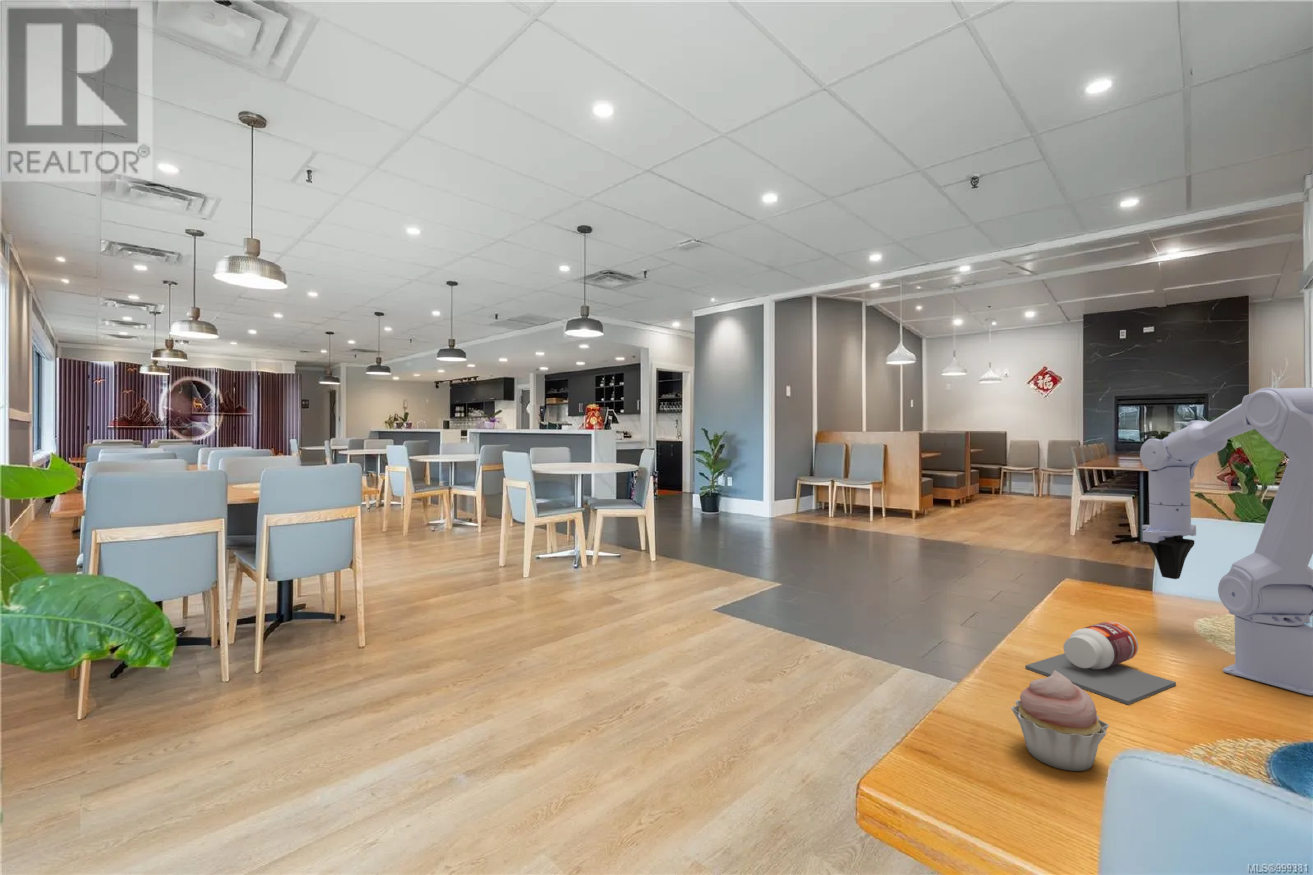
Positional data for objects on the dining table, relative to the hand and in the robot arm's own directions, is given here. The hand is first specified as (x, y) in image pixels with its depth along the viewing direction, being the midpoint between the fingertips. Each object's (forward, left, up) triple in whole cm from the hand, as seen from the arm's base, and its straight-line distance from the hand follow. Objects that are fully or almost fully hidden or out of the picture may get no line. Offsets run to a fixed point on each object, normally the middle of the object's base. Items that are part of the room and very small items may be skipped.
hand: (1170, 577), depth 105 cm
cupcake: (-14, +60, -11) cm, 63 cm away
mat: (-4, +32, -10) cm, 34 cm away
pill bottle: (-2, +23, -7) cm, 24 cm away
